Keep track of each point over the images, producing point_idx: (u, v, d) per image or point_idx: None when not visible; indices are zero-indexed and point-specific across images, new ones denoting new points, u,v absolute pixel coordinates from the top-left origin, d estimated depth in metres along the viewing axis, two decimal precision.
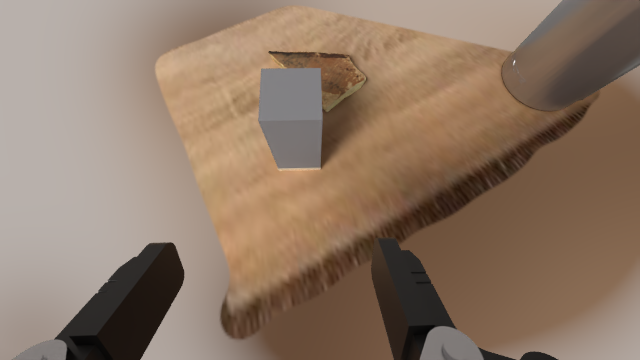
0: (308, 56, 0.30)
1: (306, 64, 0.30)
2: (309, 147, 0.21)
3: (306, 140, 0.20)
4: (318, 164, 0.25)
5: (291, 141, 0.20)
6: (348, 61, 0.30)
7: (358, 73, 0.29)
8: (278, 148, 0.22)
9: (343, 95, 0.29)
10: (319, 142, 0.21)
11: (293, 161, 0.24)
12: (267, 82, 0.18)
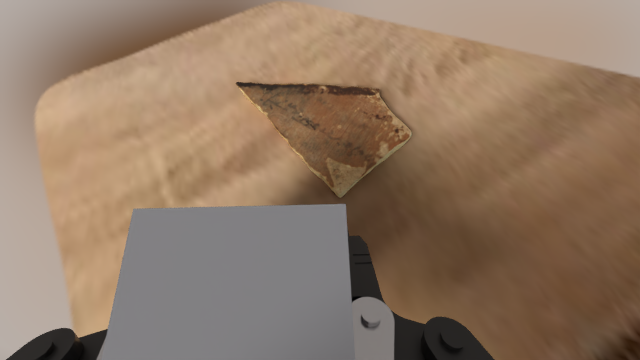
0: (307, 91, 0.17)
1: (302, 107, 0.16)
2: None
3: None
4: None
5: None
6: (378, 101, 0.17)
7: (398, 124, 0.16)
8: None
9: None
10: None
11: None
12: (146, 271, 0.05)
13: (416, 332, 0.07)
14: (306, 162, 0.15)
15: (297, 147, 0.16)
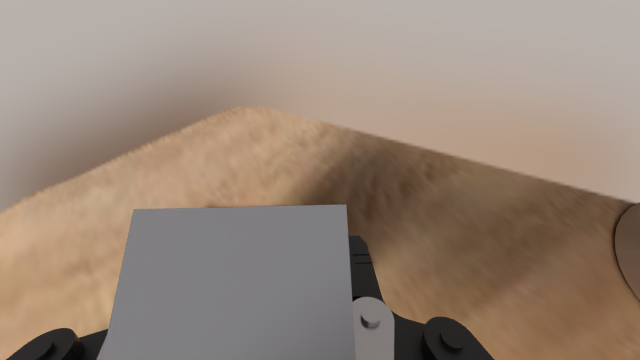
0: None
1: None
2: None
3: None
4: None
5: None
6: None
7: None
8: None
9: None
10: None
11: None
12: (147, 272, 0.05)
13: (416, 332, 0.07)
14: None
15: None
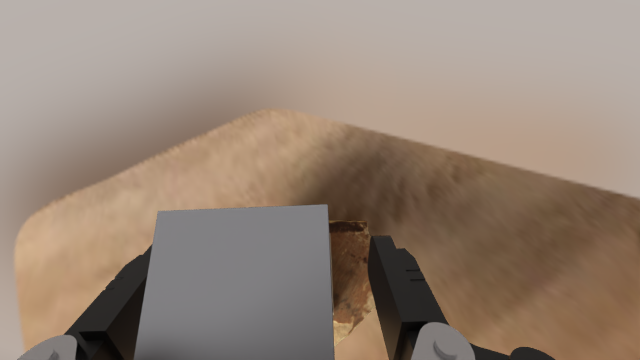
0: None
1: None
2: None
3: None
4: None
5: None
6: (366, 239, 0.16)
7: None
8: None
9: None
10: None
11: None
12: (170, 260, 0.06)
13: None
14: None
15: None
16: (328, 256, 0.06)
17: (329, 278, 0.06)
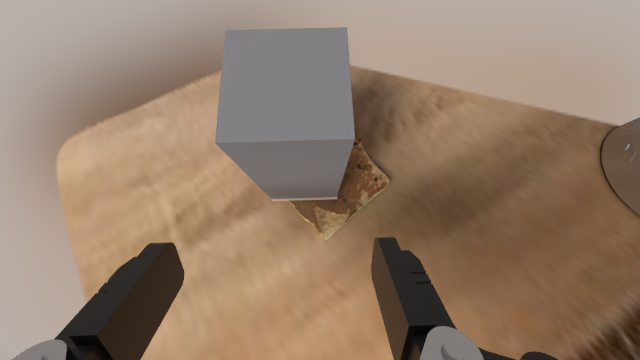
0: None
1: None
2: (321, 177, 0.12)
3: (318, 169, 0.11)
4: (334, 194, 0.16)
5: (290, 171, 0.11)
6: (360, 151, 0.19)
7: (377, 173, 0.18)
8: (268, 180, 0.12)
9: None
10: (341, 171, 0.11)
11: (294, 192, 0.15)
12: (237, 58, 0.09)
13: None
14: (297, 210, 0.18)
15: None
16: (348, 56, 0.09)
17: (349, 67, 0.09)
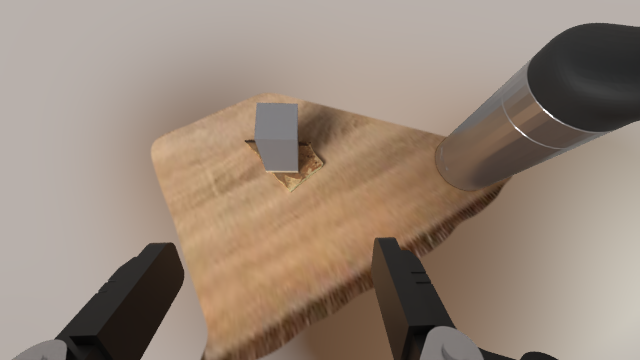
0: None
1: None
2: (288, 156, 0.30)
3: (287, 151, 0.29)
4: (296, 168, 0.34)
5: (276, 152, 0.29)
6: (309, 148, 0.37)
7: (317, 159, 0.36)
8: (267, 156, 0.30)
9: (304, 179, 0.36)
10: (296, 153, 0.29)
11: (277, 165, 0.33)
12: (261, 112, 0.27)
13: None
14: (276, 177, 0.36)
15: None
16: (297, 113, 0.27)
17: (297, 117, 0.27)
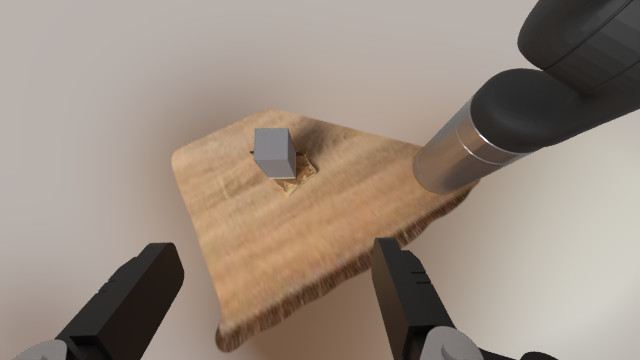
0: None
1: None
2: (284, 169, 0.37)
3: (281, 166, 0.35)
4: (293, 176, 0.41)
5: (273, 166, 0.35)
6: (304, 158, 0.44)
7: (311, 168, 0.43)
8: (266, 169, 0.37)
9: (300, 184, 0.42)
10: (289, 167, 0.36)
11: (277, 174, 0.40)
12: (258, 137, 0.33)
13: None
14: (276, 183, 0.42)
15: None
16: (287, 136, 0.33)
17: (287, 140, 0.33)
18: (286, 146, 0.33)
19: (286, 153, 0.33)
